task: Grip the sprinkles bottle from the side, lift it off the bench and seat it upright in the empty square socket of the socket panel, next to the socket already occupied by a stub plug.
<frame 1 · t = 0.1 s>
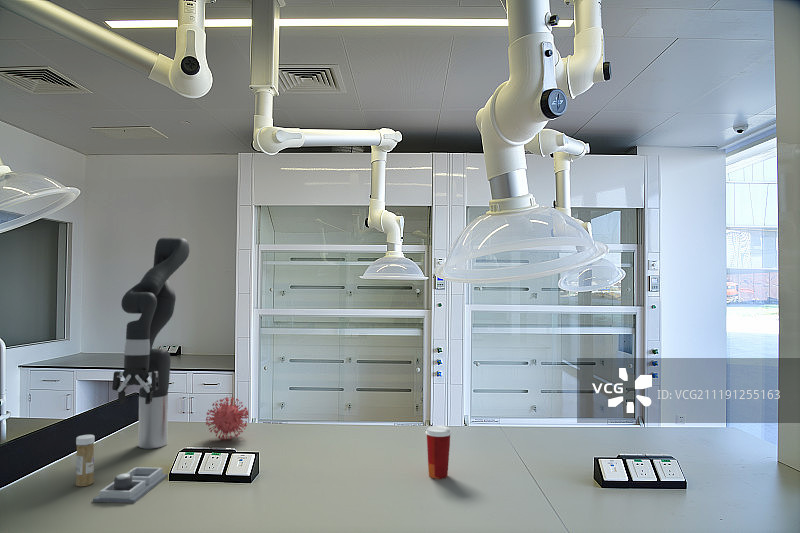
hand: (134, 403, 185), 17 cm above the worktop, tool pointing down, fingers open, 8 cm apart
sprinkles bottle: (84, 484, 161), on the worktop
paper cup: (437, 476, 171), on the worktop
socket panel: (132, 488, 158), on the worktop
virus model: (227, 439, 207), on the worktop
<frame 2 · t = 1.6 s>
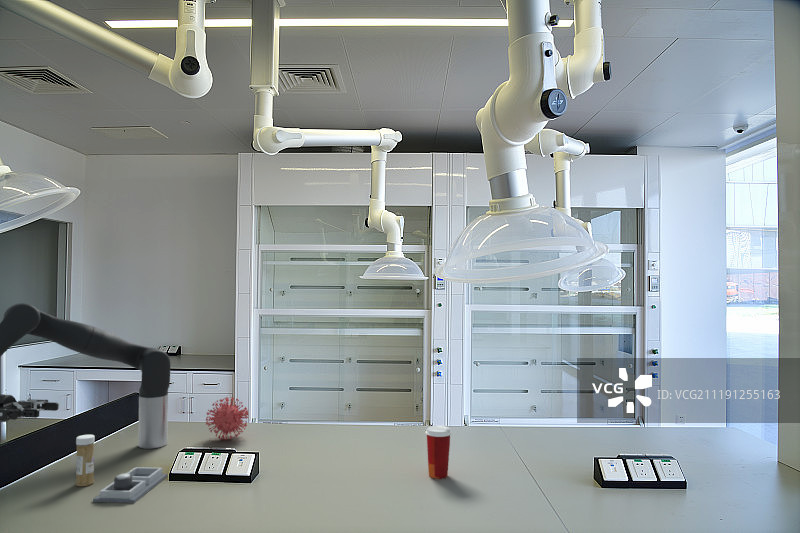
hand: (48, 409, 162), 21 cm above the worktop, tool horizontal, fingers open, 8 cm apart
nothing on the worktop moved.
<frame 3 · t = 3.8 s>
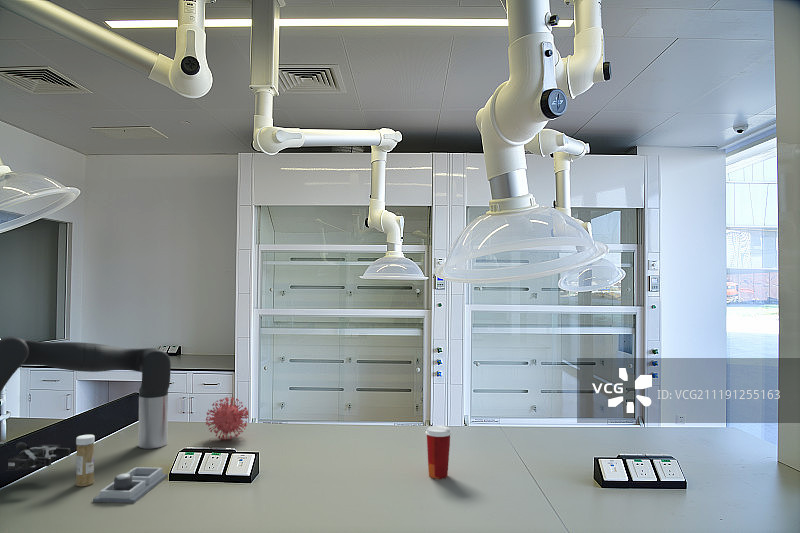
hand: (60, 456, 162), 7 cm above the worktop, tool horizontal, fingers open, 8 cm apart
nothing on the worktop moved.
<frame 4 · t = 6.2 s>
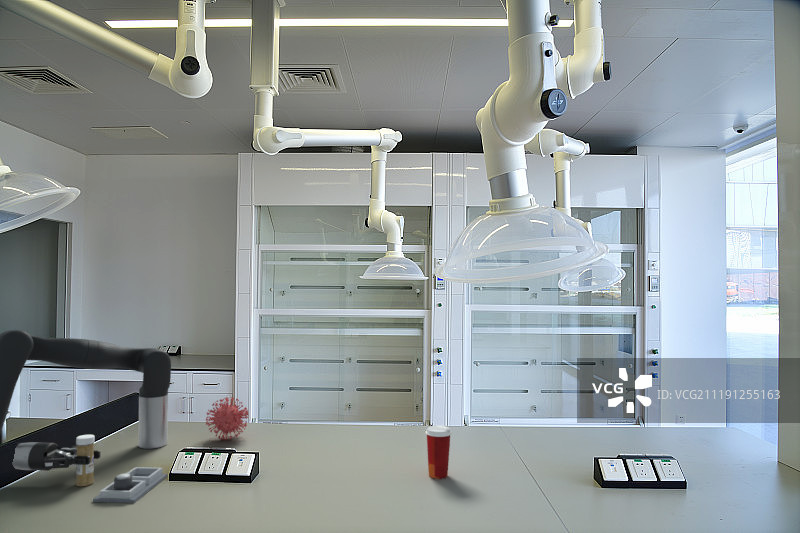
hand: (94, 457, 162), 8 cm above the worktop, tool horizontal, fingers closed on sprinkles bottle, 4 cm apart
sprinkles bottle: (84, 484, 161), on the worktop, touching gripper
everything else where it was.
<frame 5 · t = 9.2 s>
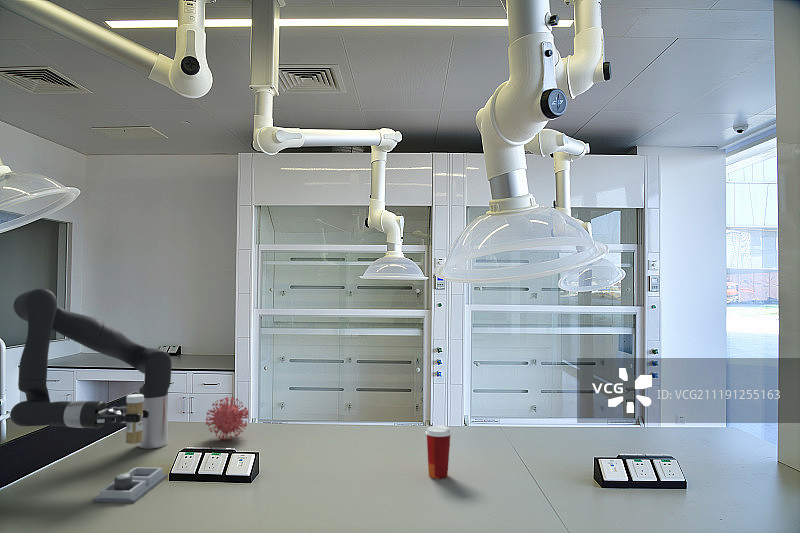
hand: (143, 416, 164), 19 cm above the worktop, tool horizontal, fingers closed on sprinkles bottle, 4 cm apart
sprinkles bottle: (134, 442, 164), point 11 cm above the worktop, touching gripper
everything else where it was.
when the fingers open (9 cm above the worktop, at t = 12.3 s): sprinkles bottle stays where it is, resting on socket panel.
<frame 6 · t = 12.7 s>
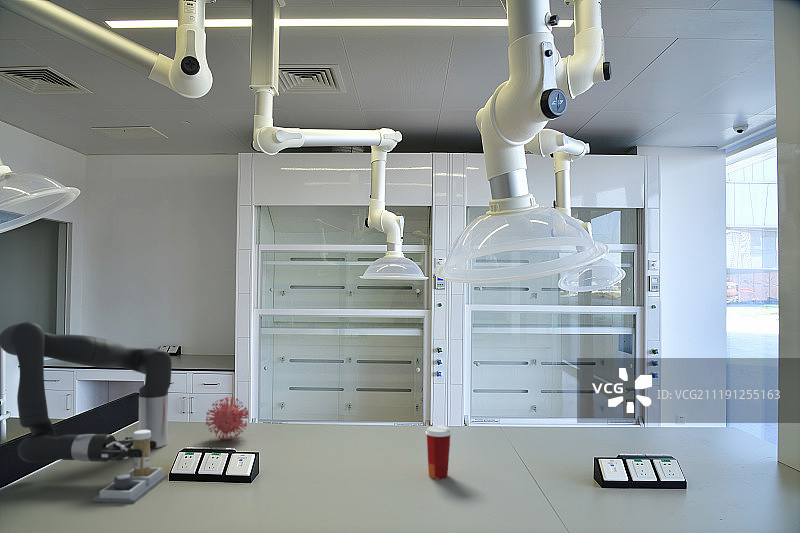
hand: (149, 448, 164), 9 cm above the worktop, tool horizontal, fingers open, 8 cm apart
sprinkles bottle: (141, 479, 164), point 1 cm above the worktop, touching socket panel
everything else where it was.
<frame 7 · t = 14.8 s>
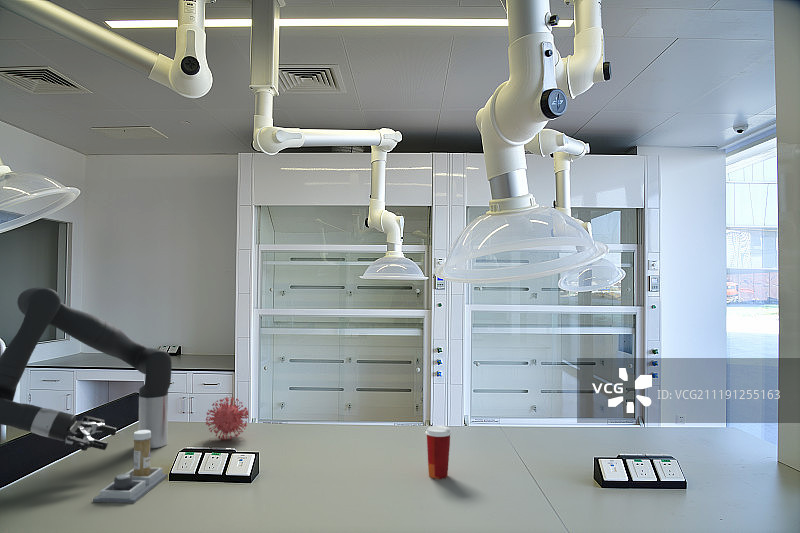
hand: (111, 439, 168), 11 cm above the worktop, tool tilted 70°, fingers open, 8 cm apart
nothing on the worktop moved.
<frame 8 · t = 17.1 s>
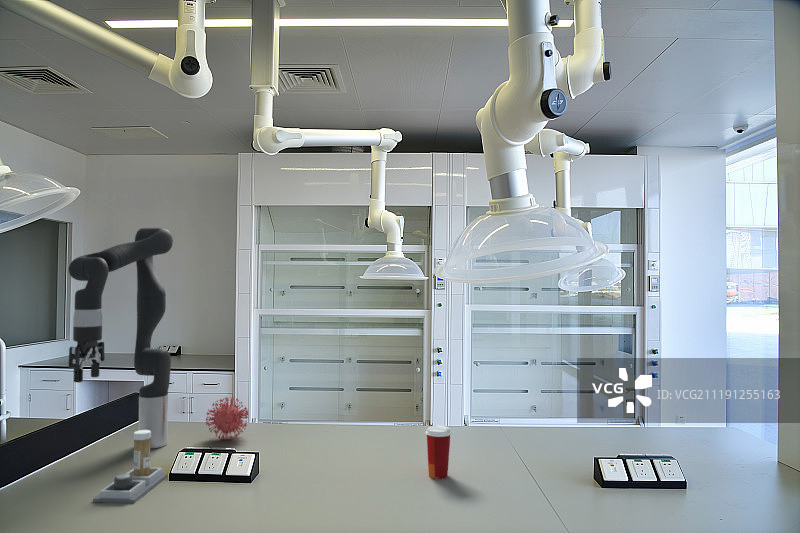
hand: (86, 379, 169), 28 cm above the worktop, tool pointing down, fingers open, 8 cm apart
nothing on the worktop moved.
at the end: sprinkles bottle 0.1 cm from the target spot, point 0.6 cm above the worktop; sprinkles bottle tilted 0°; the gripper is holding nothing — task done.
